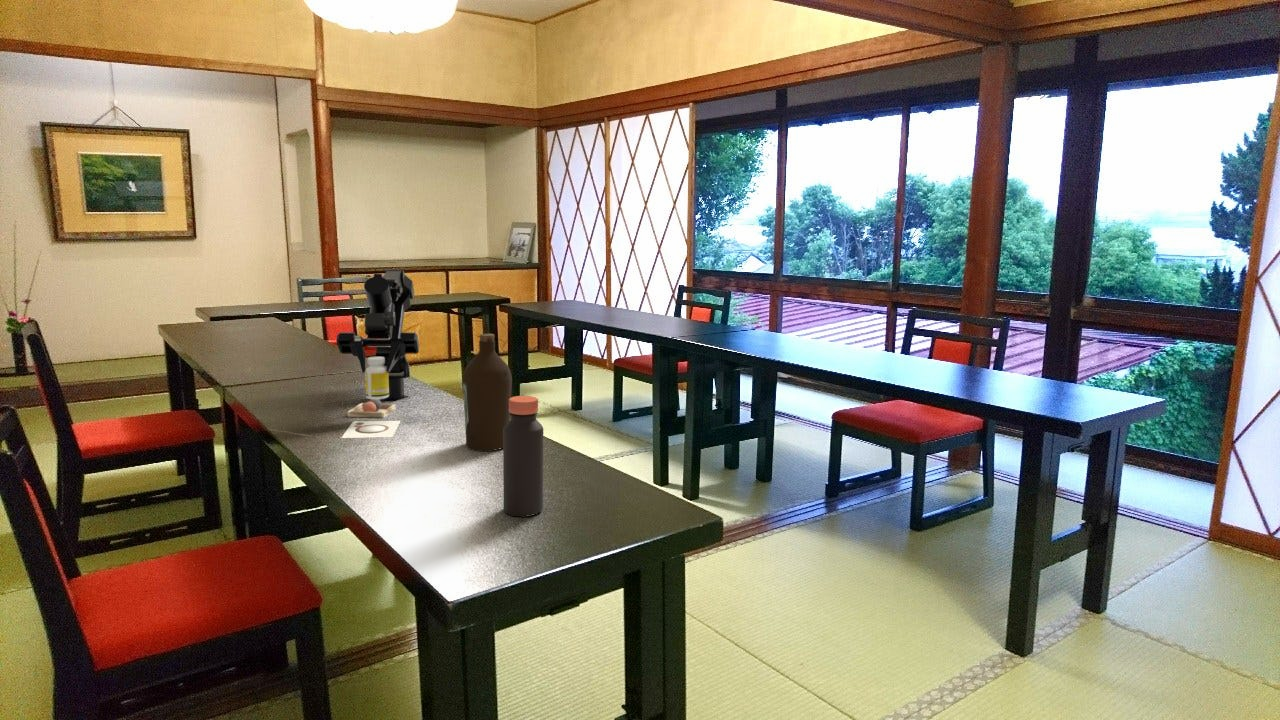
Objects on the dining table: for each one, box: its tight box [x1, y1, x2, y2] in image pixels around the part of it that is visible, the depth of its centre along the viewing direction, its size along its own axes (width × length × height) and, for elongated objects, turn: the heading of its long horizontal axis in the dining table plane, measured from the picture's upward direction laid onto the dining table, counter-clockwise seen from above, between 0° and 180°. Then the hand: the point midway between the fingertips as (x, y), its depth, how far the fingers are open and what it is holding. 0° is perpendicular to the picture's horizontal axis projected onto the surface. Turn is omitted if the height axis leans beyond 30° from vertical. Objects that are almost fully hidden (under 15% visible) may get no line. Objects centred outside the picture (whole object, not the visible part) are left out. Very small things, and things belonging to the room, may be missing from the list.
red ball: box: [363, 401, 376, 412], centre depth 188 cm, size 3×3×3 cm
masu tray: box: [347, 402, 397, 419], centre depth 190 cm, size 9×9×2 cm
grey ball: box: [368, 399, 382, 411], centre depth 192 cm, size 3×3×3 cm
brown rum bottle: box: [461, 333, 513, 452], centre depth 165 cm, size 11×11×25 cm
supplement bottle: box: [364, 356, 389, 400], centre depth 182 cm, size 5×5×10 cm
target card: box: [340, 420, 401, 439], centre depth 176 cm, size 14×11×1 cm
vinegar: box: [502, 395, 544, 517], centre depth 129 cm, size 7×7×20 cm
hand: (375, 371), depth 181 cm, fingers closed on supplement bottle, 5 cm apart
